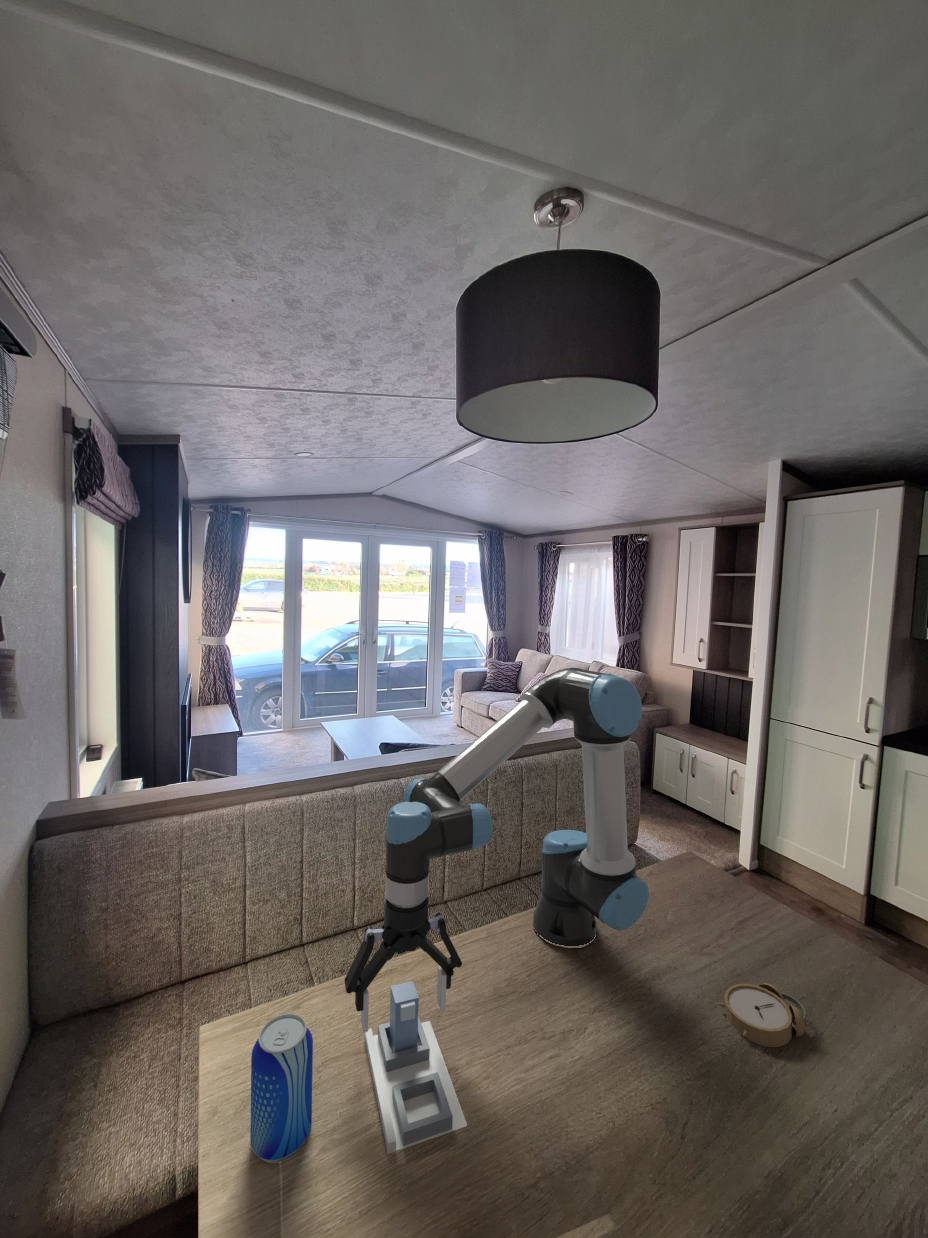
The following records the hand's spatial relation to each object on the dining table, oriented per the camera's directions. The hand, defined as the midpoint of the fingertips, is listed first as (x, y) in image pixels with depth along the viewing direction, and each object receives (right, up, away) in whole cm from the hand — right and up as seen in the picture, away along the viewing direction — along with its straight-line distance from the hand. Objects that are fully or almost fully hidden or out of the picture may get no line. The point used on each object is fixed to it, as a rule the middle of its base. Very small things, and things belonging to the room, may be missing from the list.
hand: (403, 1016), depth 89 cm
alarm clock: (+68, -9, +9) cm, 69 cm away
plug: (0, -6, 0) cm, 6 cm away
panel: (+2, -7, -5) cm, 9 cm away
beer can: (-16, -7, -14) cm, 23 cm away
